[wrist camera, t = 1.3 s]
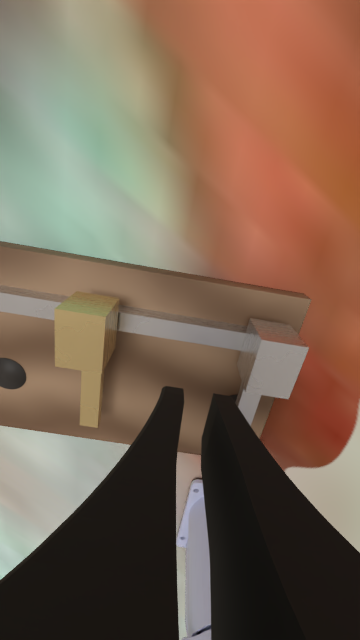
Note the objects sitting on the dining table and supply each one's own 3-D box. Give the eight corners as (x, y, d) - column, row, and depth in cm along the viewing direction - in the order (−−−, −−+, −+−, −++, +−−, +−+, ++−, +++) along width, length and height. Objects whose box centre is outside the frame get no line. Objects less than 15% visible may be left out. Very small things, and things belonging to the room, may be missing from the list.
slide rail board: (247, 450, 23) (250, 463, 22) (-16, 410, 23) (-28, 422, 21) (303, 293, 18) (311, 300, 17) (-41, 234, 17) (-57, 236, 16)
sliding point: (113, 410, 20) (96, 457, 17) (80, 405, 20) (55, 451, 16) (124, 291, 17) (105, 317, 13) (84, 285, 17) (54, 308, 13)
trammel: (256, 429, 21) (270, 477, 17) (-26, 386, 20) (-74, 427, 16) (296, 319, 17) (324, 350, 14) (-44, 261, 17) (-110, 278, 13)
